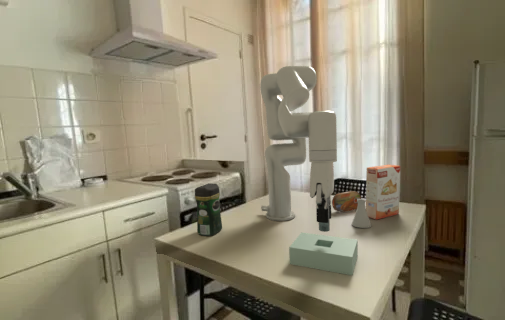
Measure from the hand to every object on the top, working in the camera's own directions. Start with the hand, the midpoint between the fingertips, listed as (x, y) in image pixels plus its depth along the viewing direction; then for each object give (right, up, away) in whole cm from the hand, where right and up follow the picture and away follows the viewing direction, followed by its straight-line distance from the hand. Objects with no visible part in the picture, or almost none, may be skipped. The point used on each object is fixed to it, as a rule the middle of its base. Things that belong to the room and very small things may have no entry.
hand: (324, 219), depth 81 cm
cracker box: (+34, -7, +38) cm, 52 cm away
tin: (+22, -6, +47) cm, 53 cm away
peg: (0, -3, 0) cm, 3 cm away
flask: (+21, -8, +28) cm, 36 cm away
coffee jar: (-37, -11, +28) cm, 47 cm away
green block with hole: (0, -12, +2) cm, 12 cm away
